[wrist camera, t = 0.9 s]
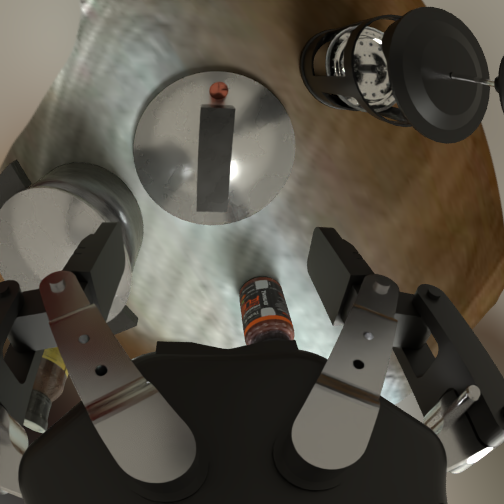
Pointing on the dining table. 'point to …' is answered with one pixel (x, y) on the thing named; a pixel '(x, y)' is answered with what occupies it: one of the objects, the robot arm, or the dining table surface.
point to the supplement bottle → (264, 311)
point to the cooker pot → (65, 225)
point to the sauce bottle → (45, 389)
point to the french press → (406, 73)
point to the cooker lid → (214, 148)
